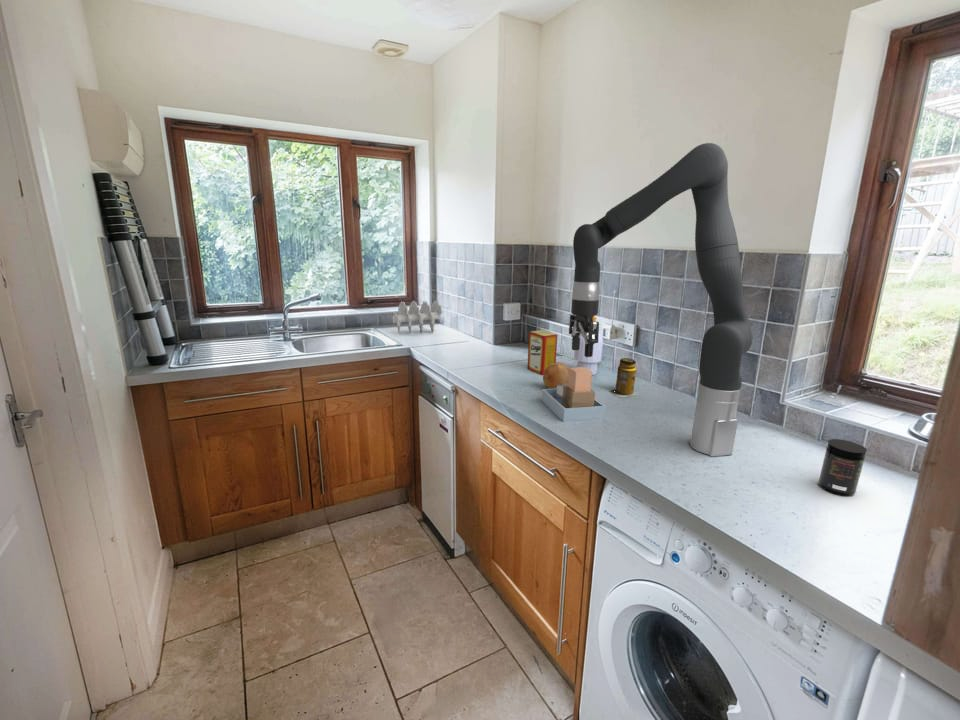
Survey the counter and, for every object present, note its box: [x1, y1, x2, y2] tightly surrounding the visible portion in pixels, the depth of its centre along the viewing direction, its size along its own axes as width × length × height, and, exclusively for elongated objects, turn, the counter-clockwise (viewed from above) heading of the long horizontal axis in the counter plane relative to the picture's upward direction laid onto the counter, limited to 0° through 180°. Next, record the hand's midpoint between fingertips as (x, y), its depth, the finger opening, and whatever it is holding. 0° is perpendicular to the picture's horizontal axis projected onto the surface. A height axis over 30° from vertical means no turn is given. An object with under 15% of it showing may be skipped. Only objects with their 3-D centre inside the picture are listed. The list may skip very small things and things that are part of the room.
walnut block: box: [562, 386, 596, 408], centre depth 139 cm, size 7×7×8 cm
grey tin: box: [556, 383, 568, 405], centre depth 147 cm, size 6×6×6 cm
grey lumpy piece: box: [392, 300, 443, 335], centre depth 249 cm, size 18×18×25 cm
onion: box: [542, 361, 569, 389], centre depth 162 cm, size 10×10×10 cm
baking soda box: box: [527, 329, 558, 376], centre depth 183 cm, size 10×6×16 cm
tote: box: [541, 388, 607, 423], centre depth 143 cm, size 18×13×4 cm
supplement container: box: [817, 438, 868, 497], centre depth 101 cm, size 7×7×10 cm
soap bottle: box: [574, 315, 604, 376], centre depth 181 cm, size 10×10×24 cm
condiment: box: [608, 357, 639, 398], centre depth 160 cm, size 7×8×12 cm
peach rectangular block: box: [568, 366, 593, 392], centre depth 137 cm, size 5×5×6 cm
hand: (581, 353), depth 135 cm, fingers open, 8 cm apart
